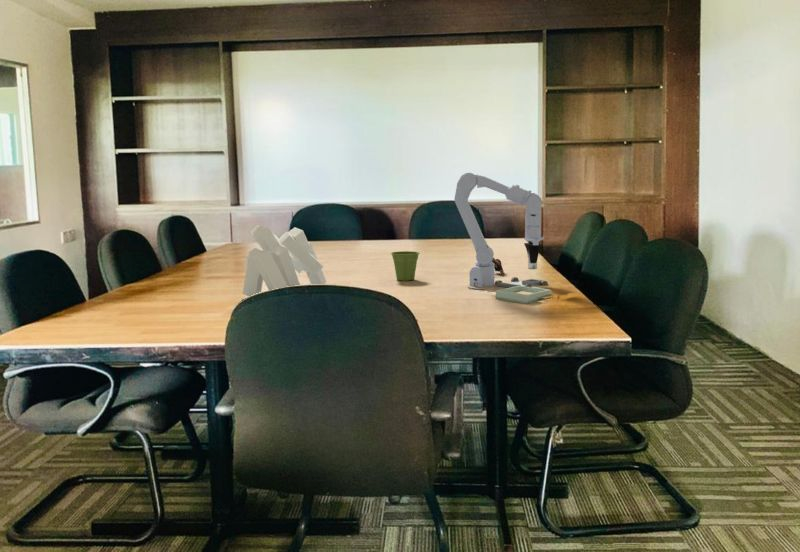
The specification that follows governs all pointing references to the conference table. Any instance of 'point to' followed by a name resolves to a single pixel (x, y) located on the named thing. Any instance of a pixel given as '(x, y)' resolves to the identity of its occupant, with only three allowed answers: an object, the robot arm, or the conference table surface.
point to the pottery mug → (498, 266)
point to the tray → (522, 298)
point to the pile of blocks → (280, 261)
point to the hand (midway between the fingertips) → (532, 262)
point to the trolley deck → (522, 283)
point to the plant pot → (405, 264)
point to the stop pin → (531, 265)
